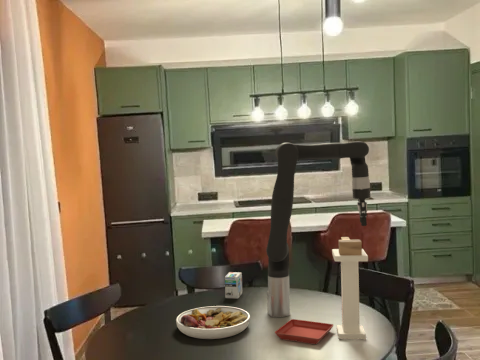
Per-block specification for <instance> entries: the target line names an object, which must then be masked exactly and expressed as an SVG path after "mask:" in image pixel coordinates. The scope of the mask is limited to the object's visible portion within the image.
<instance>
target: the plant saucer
mask: <svg viewBox="0 0 480 360" xmlns="http://www.w3.org/2000/svg"><path fill="white" fill-rule="evenodd" d="M333 327H334V324H333V323H325V322H319V321H312V320H310V321H309V320H302V319H296V318H295V319H294V318H291V319H290V320H288V321H287V322H286V323H284V324H283V325H282V326H280V327H279V328H278V329H277V330H275V331H274V334H275V335H276V336H277V337H278V338H279V339H280V340H283V339H284V341H285V340H286V341H292V342H299V343H303V344H304V343H305V344H312V345H318V343H319V342H320V341H321V340H323V338H325V336H327V334H328V333H330V332H331V330H332V329H333Z"/></svg>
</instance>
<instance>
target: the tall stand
mask: <svg viewBox="0 0 480 360" xmlns="http://www.w3.org/2000/svg"><path fill="white" fill-rule="evenodd" d="M331 254H332V257H333V260H334V262H340V272H341V273H340V281H341V283H340V284H341V285H340V289H341V290H340V291H341V322H342V323H341V324H337V325H336V333H337V336H338V337H337V338H338V339H339V340H366V339H367V336H366V335H367V334H366V331H365V329H364V326H363V324H361V323H360V287H359V286H360V285H359V284H360V283H359V282H360V281H359V280H360V278H359V277H360V276H359V273H360V272H359V262H369V255H368V254H367V253H366V251H365V250H364V248H362V255H340V254H339V248H333V249H331Z"/></svg>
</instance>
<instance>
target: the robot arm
mask: <svg viewBox="0 0 480 360" xmlns="http://www.w3.org/2000/svg"><path fill="white" fill-rule="evenodd" d="M274 151H275V152H274V153H275V159H277V176H276V179H275V182H274V186H273V189H272V193H271V194H272V196H271V202H270V203H271V204H270V228H269V229H270V230H269V236H268V241H267V244H266V251H265V252H266V256H267V258H268V265H267V266H268V267H267V289H268V290H267V292H266V299H267V300H266V301H267V303H266V304H267V305H266V307H267V314H268V315H269V316H270V318H271V317H272V318H284V317H288V316H290V314H291V307H290V306H291V305H290V303H291V301H290V300H291V299H290V246H289V243H288V228H289V225H290V222H291V217H292V213H293V207H294V206H293V205H294V192H295V175H296V174H295V173H296V169H297V163H298V161H302V160H337V159H338V160H339V159H345V158H346V159H347V158H348V159H349V160H350V165H351V178H352V179H351V187H352V188H351V189H352V198H353V199H354V200H357V203H356V204H357V205H356V206H357V211H358V215H359V222H360V224H361V226H362V227H366V226H367V225H368V224H367V216H368V214H367V213H368V208H367V207H368V202H367V201H366V199H369V198H371V196H372V195H371V182H370V176H369V174H370V173H369V166H368V165H369V164H368V163H367V162H366V156H367V155H368V154H369V152H370V148H369V145H368V144H367V143H366V142H364V141H360V140H359V141H352V142H351V141H350V142H324V143H315V144H296V143H295V144H294V143H291V142H282V143H280V144H278V146H277V147H276V149H275V150H274Z"/></svg>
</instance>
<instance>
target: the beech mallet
mask: <svg viewBox="0 0 480 360" xmlns="http://www.w3.org/2000/svg"><path fill="white" fill-rule="evenodd" d="M340 238H341V239H338V249H339V254H340V255H362V249H363V248H362V245H363V243H362V239H350V237H349V236H341V237H340Z"/></svg>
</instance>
